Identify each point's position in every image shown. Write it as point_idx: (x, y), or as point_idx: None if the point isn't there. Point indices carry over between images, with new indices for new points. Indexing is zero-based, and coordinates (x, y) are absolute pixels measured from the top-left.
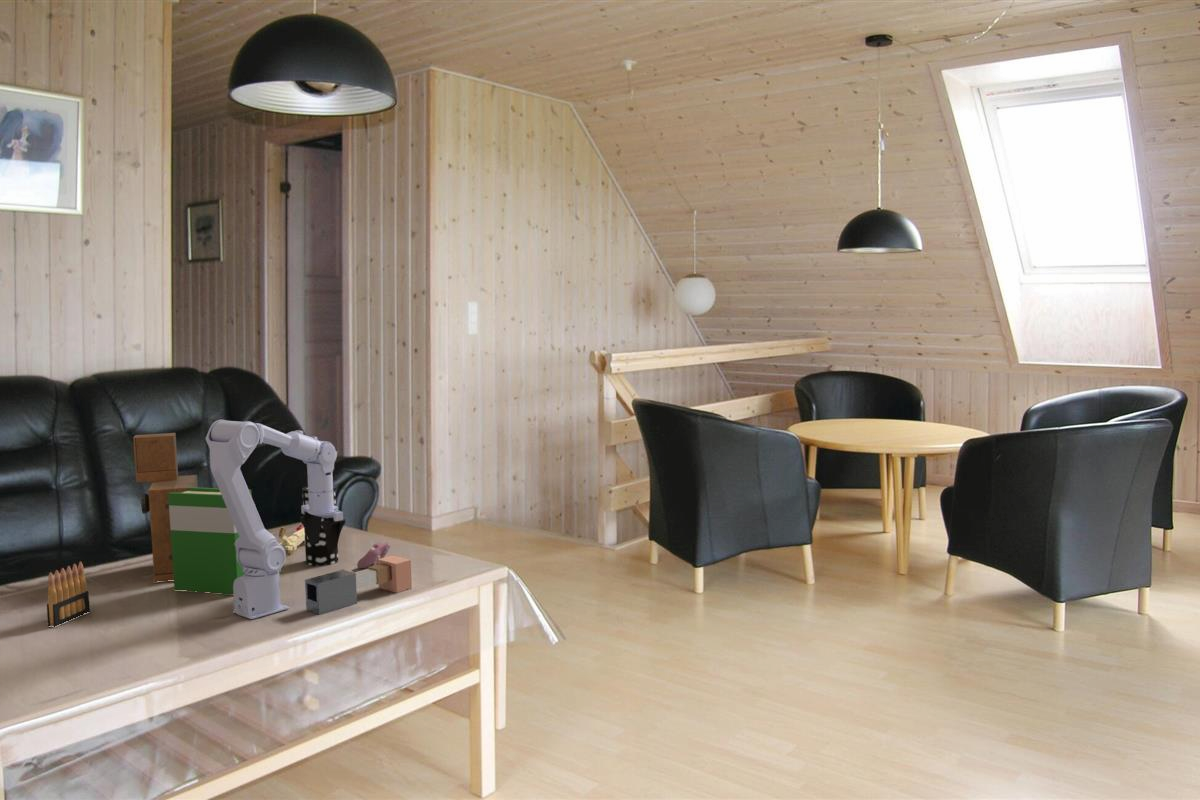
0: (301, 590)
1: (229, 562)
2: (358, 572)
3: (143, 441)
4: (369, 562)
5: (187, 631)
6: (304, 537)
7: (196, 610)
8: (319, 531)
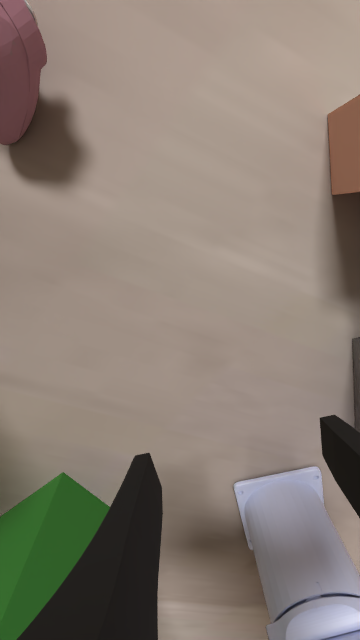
0: (177, 400)
1: None
2: None
3: None
4: (36, 88)
5: None
6: None
7: (178, 580)
8: (132, 512)
